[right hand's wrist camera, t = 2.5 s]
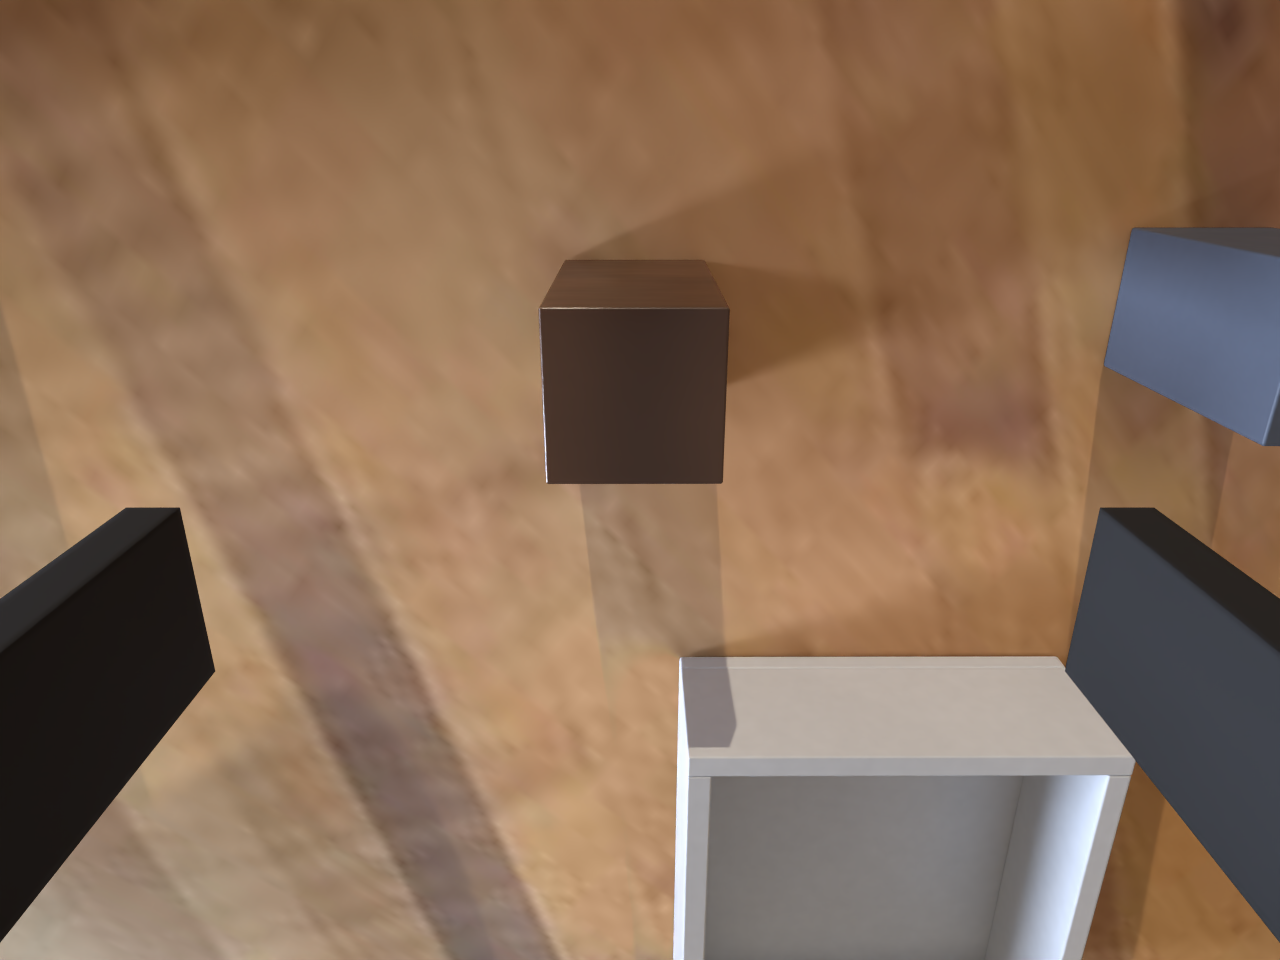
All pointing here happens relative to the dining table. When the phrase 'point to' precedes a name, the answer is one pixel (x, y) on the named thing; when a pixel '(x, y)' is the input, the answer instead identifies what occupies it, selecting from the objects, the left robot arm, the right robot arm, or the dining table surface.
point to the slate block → (1204, 323)
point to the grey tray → (890, 809)
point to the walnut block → (634, 373)
